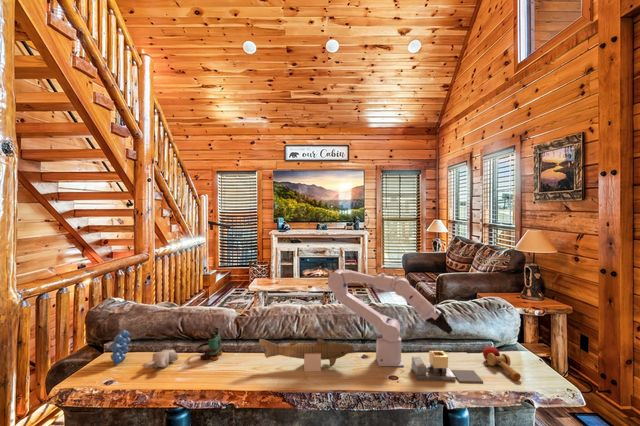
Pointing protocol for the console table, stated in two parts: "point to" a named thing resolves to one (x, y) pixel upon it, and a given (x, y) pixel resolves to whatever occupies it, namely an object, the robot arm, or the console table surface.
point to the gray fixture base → (430, 371)
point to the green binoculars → (212, 346)
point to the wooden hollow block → (438, 359)
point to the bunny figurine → (162, 358)
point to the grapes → (120, 346)
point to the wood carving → (308, 352)
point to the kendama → (500, 361)
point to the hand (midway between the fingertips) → (448, 330)
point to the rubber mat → (467, 376)
